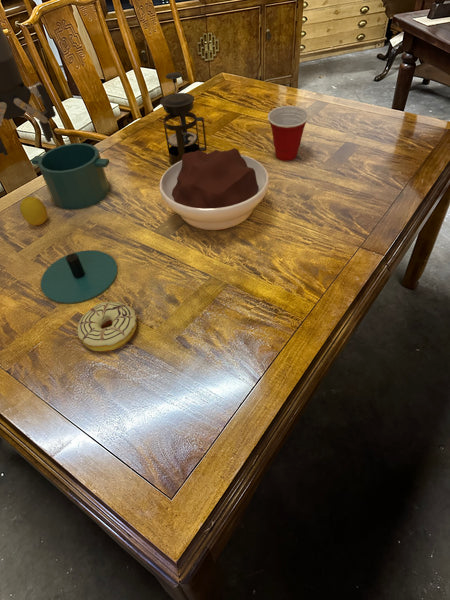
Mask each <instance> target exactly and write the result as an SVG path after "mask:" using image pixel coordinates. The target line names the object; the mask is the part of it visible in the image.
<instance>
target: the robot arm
mask: <svg viewBox="0 0 450 600" xmlns="http://www.w3.org/2000/svg"><path fill="white" fill-rule="evenodd" d="M46 89H47V88H46V87H45V86H44V85H43V83H41V82H40V81H35V82H34V84H32V85H29V86H27V85H26V84H25V81H24V80H23V77H22V74H21V71H20V69H19V66H18V63H17V62H16V59H15V56H14V53H13V49H12V46H11V44H10V43H9V40H8V38H7V35H6V33H5V32H4V30H3V28H2V26H1V25H0V128H1V127H2V124H3V120H6V121H9V120H12V119H14V118H16V117H17V118H19V117H24V116H25V114H27V113H28V115H30V116H32V117H33V118H35V119H36V120H38V123H39V126H40V129H41V131H42V133H43V136H44V139H45V140H46V142H47V143H50V142H52V139H53V138H54V134H53V130H52V129H51V126H50V123H49V121H50V119H52V118H55V117H56V116H57V115H56V111H55V108H54V106H53V103H52V101H51V99H50V97H49V94H48V92H47V90H46ZM32 94H34V96H35V97H36V98H39V99H40V101H41V103H42V105H43V108H44V110H43V111H40V110H39V109H37V108H36V107H35V106H33V105H32V104H31V103H30V101H31V97H32ZM0 154H3V155H4V156H8V155H9V153H8V151H7V148H6V146H5V143H4V142H3V140H2V138H1V137H0Z"/></svg>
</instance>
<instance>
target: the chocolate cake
mask: <svg viewBox="0 0 450 600" xmlns="http://www.w3.org/2000/svg"><path fill="white" fill-rule="evenodd" d="M159 180H160V181H159V185H158V189H159V195H160V197H161V200H162V201H163V202H164V203H165V205H166V206H167V207H168V208H169V209H171V210H172V211H173V212H174V213H176V214H177V215H179V216H180V217H181V219H182V220H183V221H184V222H185V223H187V224H188V225H190V226H192V227H194V228H197V229H200V230H207V231H218V230H219V231H220V230H226V229H230V228H233V227H236V226H237V225H239V224H241V223H244V222H245V221H246V220H247V219H248V218H249V217H250V216H251V214H252V213H253V211H254V210H255V208H256V207H257V206H258V205H259V204H260V203H261V202H262V200H263V199H264V198H265V196H266V194H267V192H268V190H269V187H270V175H269V172H268V170H267V169H266V167H265V166H264V165H263V164H262V163H261V162H259V161H258V160H256V159H254V158H252V157H250V156H248V155H246V154H245V155H244V154H241V153H240V150H239V149H237V148H235V147H233V148H230V149H229V150H224V151H220V150H217V149H215V150H213V151H211V152H206V151H195V152H189V153H185V154H183V156H182V160H181V161H179V162H177V163H176V164H174V165H173V166H172V165H171V166H170V167H168V169H166V170H165V172H164V173H163V174H162V176H161V178H160V179H159Z"/></svg>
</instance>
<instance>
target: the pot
mask: <svg viewBox="0 0 450 600" xmlns="http://www.w3.org/2000/svg"><path fill="white" fill-rule="evenodd" d="M30 162H31V164H32V165H37V166H38V169H39V171H40V174H41V176H42V179H43V180H44V183H45V186H46V188H47V190H48V192H49V195H50V197H51V200H52V201H53V203H54V204H55V206H57V207H59V208H60V209H65V210H82V209H85V208H89V207H93V206H94V205H96V204H98V203H100V202H102V201H103V200H104V199H105V198H106V197H107V196H108V194H109V192H110V185H109V182H108V181H109V180H108V177H107V174H106V172H105V171H106V170H105V168H107V167H108V166H109V164H110V159H109V158H101V154H100V151H99V149H98V147H96V146H95V145H92V144H89V143H87V142H85V143H83V142H73V143H68V144H67V143H66V144H62V145H59V146H56V147H53V148H51V149H50V150H48V151H45V152H44V153H43V154H42V155H35V156H34V157H33V158H32V159H31V160H30Z"/></svg>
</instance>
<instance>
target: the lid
mask: <svg viewBox="0 0 450 600" xmlns="http://www.w3.org/2000/svg"><path fill="white" fill-rule="evenodd" d="M118 271H119V269H118V265H117V262H116V260H115V259H114V257H112V256H111V255H110V254H108V253H107V252H103V251H100V250H95V249H94V250H93V249H91V250H89V249H88V250H87V249H85V250H79V251H75V252H72V253H69V254H66V255H64V256H62V257H60V258H58V259H57V260H56V261H54V262H53V263H51V265H49V266H48V268H47V269H46V270H45V271H44V273H43V274H42V276H41V280H40V289H41V291H42V293H43V294H44V296H45V297H46V298H47V299H49V300H50V301H51V302H55V303H58V304H64V305H72V304H73V305H74V304H79V303H84V302H87V301H90V300H92V299H95V298H97V297H98V296H100V295H102V294H103V293H104V292H106V291H107V290H108V289H109V288H110V287H111V286H112V285H114V282H115V281H116V279H117V277H118Z"/></svg>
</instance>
